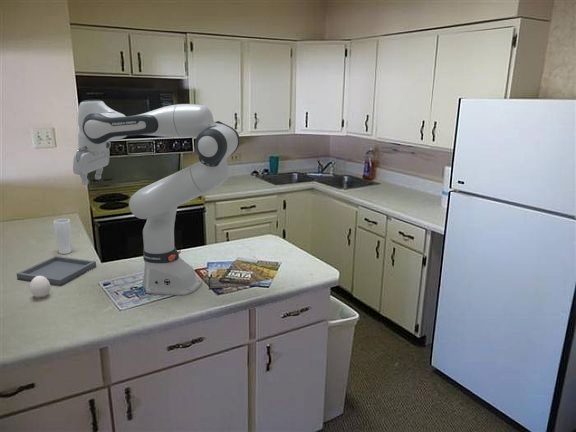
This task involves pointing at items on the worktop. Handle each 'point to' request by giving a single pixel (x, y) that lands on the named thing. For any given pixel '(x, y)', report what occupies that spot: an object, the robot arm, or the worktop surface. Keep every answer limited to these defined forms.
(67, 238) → the drinking glass
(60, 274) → the tray
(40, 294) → the egg
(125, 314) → the worktop surface
